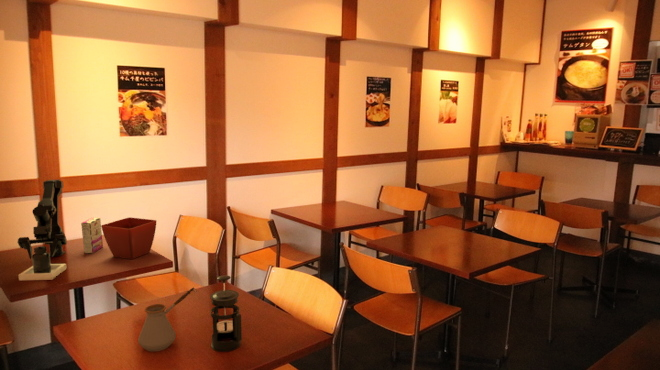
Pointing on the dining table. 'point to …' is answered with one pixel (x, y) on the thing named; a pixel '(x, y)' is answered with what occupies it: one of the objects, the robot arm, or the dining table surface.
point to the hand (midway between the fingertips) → (41, 257)
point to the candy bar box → (92, 235)
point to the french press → (226, 327)
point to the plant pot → (129, 237)
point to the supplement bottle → (41, 260)
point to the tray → (55, 271)
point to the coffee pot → (158, 327)
